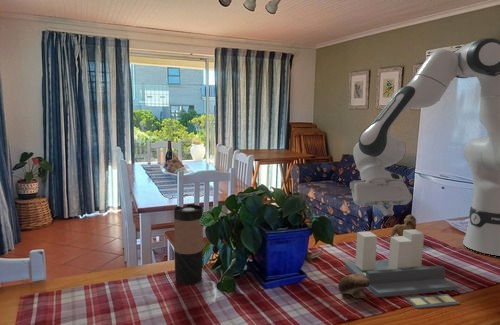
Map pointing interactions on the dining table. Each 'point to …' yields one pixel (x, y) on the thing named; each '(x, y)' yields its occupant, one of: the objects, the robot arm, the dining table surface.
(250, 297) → the dining table surface
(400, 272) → the board
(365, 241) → the key
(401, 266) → the middle key
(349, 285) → the mushroom
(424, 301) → the card
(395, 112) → the robot arm
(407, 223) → the lion figurine
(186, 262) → the travel mug
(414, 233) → the key
